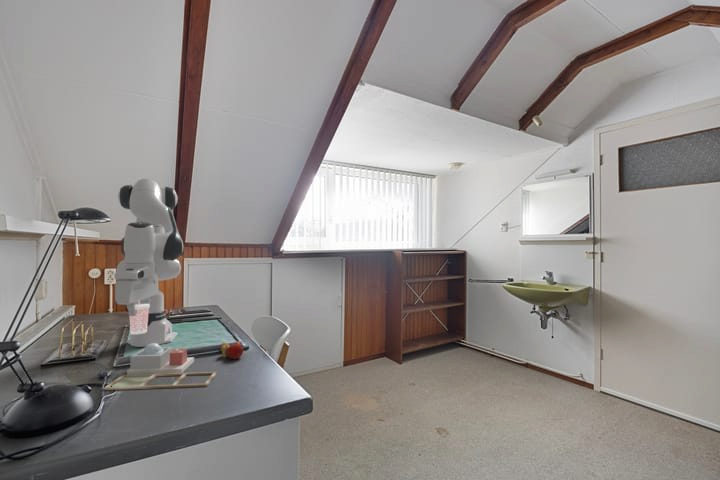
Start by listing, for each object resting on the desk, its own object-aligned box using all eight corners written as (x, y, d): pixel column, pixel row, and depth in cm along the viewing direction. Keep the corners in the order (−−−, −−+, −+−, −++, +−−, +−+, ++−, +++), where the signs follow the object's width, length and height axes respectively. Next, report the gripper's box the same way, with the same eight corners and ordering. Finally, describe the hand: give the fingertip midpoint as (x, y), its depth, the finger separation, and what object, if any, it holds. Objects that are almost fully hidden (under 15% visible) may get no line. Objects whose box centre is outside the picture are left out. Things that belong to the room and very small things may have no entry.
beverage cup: (125, 335, 108) (125, 291, 108) (130, 330, 114) (130, 289, 114) (147, 334, 111) (148, 291, 111) (151, 329, 116) (151, 288, 116)
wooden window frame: (123, 376, 117) (123, 374, 117) (217, 373, 120) (217, 371, 120) (102, 390, 106) (102, 388, 106) (206, 386, 109) (206, 384, 109)
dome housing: (144, 362, 130) (145, 346, 130) (194, 361, 132) (194, 345, 132) (127, 374, 118) (127, 357, 118) (181, 372, 120) (181, 355, 120)
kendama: (212, 354, 144) (226, 360, 130) (215, 339, 146) (228, 343, 132) (231, 354, 149) (245, 359, 135) (233, 339, 150) (248, 343, 137)
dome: (147, 358, 128) (147, 340, 128) (166, 358, 129) (167, 340, 129) (137, 365, 121) (137, 346, 121) (158, 365, 122) (158, 345, 122)
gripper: (145, 268, 122) (144, 307, 122) (110, 274, 102) (110, 320, 102) (163, 268, 123) (163, 306, 123) (133, 274, 103) (132, 320, 103)
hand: (138, 313), depth 112 cm, fingers closed on beverage cup, 6 cm apart
